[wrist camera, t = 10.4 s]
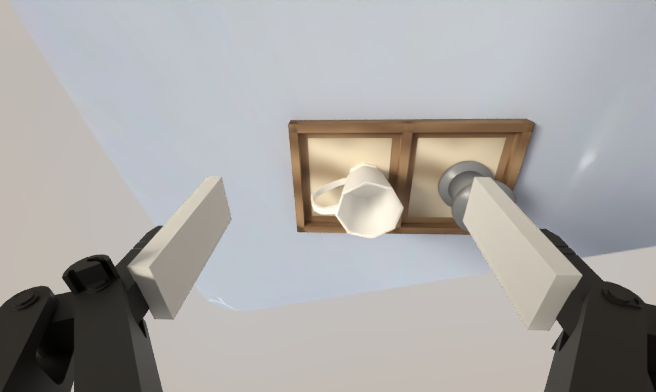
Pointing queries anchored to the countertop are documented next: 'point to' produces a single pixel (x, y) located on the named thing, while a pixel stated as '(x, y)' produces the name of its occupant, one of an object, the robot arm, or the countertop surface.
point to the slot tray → (400, 163)
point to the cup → (363, 202)
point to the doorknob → (464, 187)
